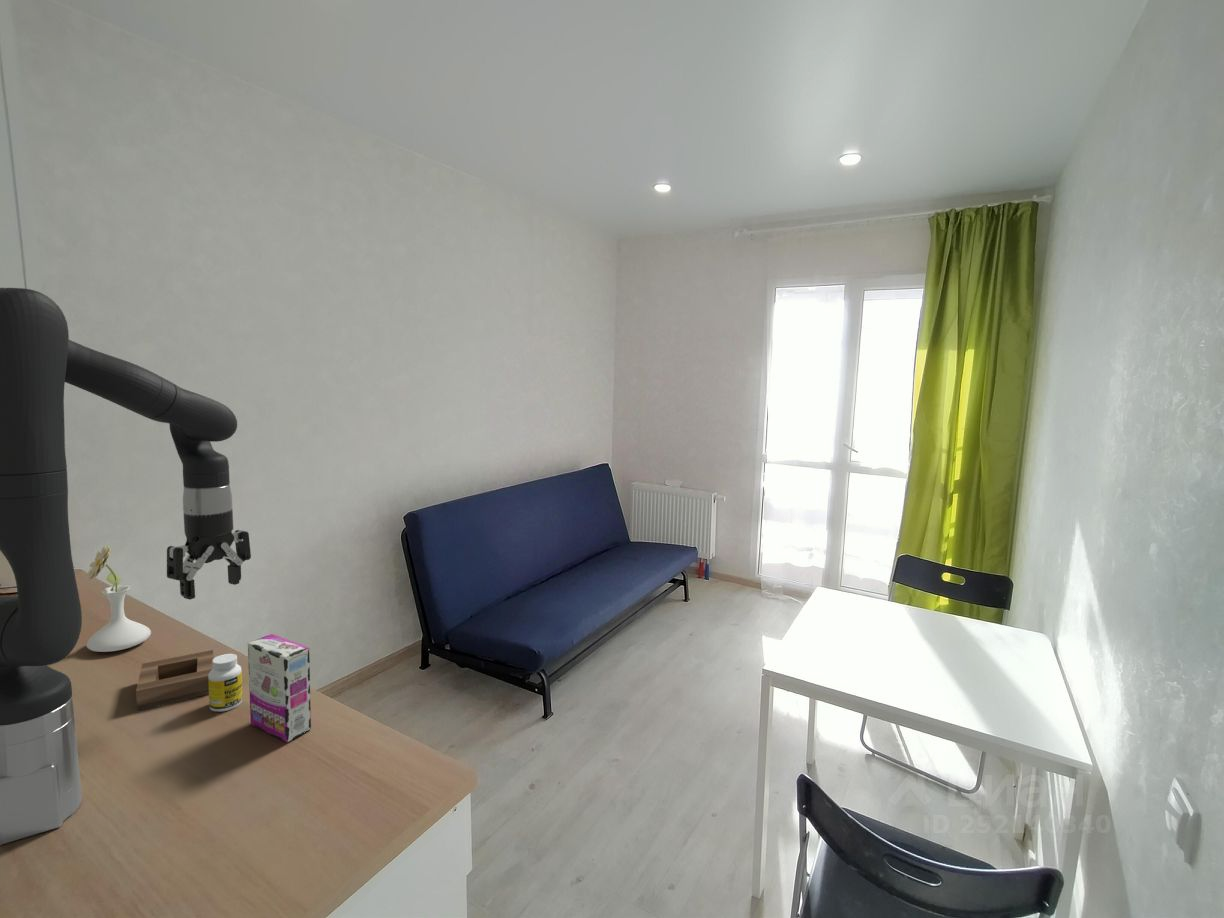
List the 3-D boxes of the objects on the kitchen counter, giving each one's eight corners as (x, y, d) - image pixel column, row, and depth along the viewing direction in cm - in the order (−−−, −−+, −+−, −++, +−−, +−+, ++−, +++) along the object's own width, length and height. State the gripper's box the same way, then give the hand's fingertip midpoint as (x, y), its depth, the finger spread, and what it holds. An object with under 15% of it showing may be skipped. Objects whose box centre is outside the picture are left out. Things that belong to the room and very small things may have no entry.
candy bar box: (313, 729, 104) (311, 646, 102) (287, 744, 100) (284, 658, 97) (275, 711, 109) (272, 632, 107) (249, 724, 105) (245, 642, 102)
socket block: (214, 692, 114) (213, 674, 113) (137, 710, 107) (135, 691, 106) (213, 666, 124) (213, 649, 123) (143, 681, 117) (142, 663, 116)
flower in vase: (96, 638, 133) (88, 537, 130) (157, 631, 138) (150, 533, 135) (75, 664, 122) (65, 554, 118) (142, 655, 127) (134, 549, 123)
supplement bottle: (226, 714, 107) (223, 667, 106) (202, 710, 108) (199, 662, 107) (249, 699, 112) (247, 653, 111) (226, 695, 113) (224, 649, 112)
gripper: (181, 519, 97) (187, 607, 100) (258, 503, 111) (261, 582, 113) (153, 513, 100) (158, 600, 102) (231, 499, 113) (234, 576, 115)
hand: (212, 590), depth 107 cm, fingers open, 8 cm apart
